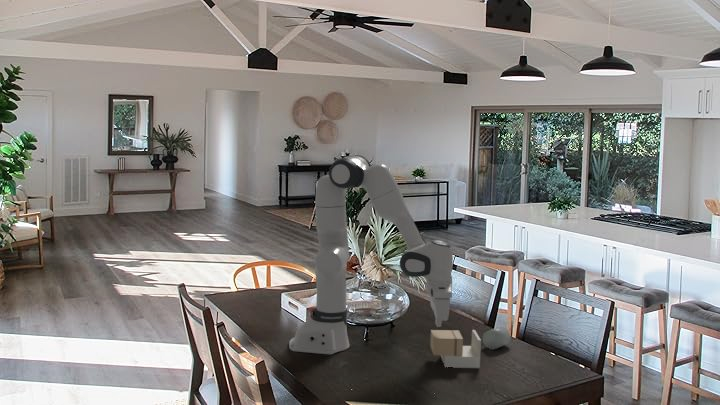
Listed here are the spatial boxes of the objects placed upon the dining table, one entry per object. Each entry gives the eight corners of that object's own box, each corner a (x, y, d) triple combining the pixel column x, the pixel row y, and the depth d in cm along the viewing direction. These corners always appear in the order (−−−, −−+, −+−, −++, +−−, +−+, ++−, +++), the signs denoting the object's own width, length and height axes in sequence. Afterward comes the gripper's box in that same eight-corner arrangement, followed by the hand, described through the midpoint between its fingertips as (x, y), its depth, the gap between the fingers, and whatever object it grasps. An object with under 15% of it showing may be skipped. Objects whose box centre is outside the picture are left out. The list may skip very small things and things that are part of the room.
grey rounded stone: (487, 327, 246) (499, 322, 251) (480, 342, 248) (492, 337, 254) (501, 338, 241) (513, 334, 247) (494, 353, 244) (506, 348, 250)
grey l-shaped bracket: (445, 367, 226) (446, 339, 225) (440, 355, 237) (441, 329, 235) (479, 368, 226) (481, 340, 225) (473, 356, 237) (474, 329, 236)
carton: (433, 355, 226) (434, 338, 225) (430, 346, 235) (430, 329, 234) (462, 355, 226) (463, 338, 226) (458, 346, 235) (458, 330, 235)
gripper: (426, 279, 238) (425, 316, 240) (434, 294, 218) (433, 334, 219) (443, 279, 238) (443, 316, 240) (452, 294, 218) (451, 334, 220)
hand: (438, 325), depth 229 cm, fingers closed
